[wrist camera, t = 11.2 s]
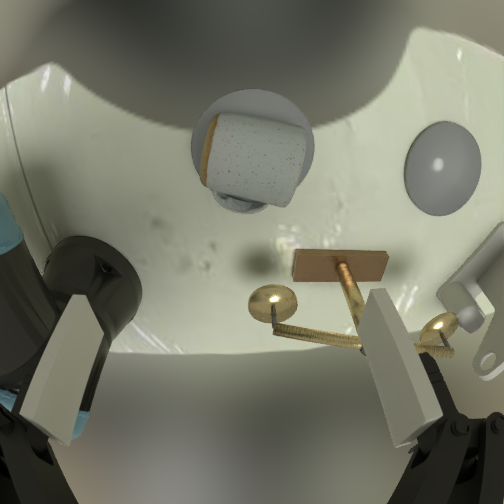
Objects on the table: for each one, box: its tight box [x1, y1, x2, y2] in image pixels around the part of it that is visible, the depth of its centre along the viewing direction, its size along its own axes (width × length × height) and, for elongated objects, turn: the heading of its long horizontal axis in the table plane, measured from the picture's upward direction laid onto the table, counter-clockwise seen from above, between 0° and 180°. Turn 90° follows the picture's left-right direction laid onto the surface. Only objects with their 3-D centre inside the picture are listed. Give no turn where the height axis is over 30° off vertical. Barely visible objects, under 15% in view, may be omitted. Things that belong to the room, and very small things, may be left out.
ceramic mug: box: [200, 113, 306, 214], centre depth 25 cm, size 10×8×7 cm
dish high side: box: [404, 122, 481, 216], centre depth 28 cm, size 12×12×1 cm
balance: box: [248, 249, 459, 358], centre depth 29 cm, size 23×5×16 cm, turn 88°
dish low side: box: [191, 89, 314, 202], centre depth 27 cm, size 12×12×1 cm
